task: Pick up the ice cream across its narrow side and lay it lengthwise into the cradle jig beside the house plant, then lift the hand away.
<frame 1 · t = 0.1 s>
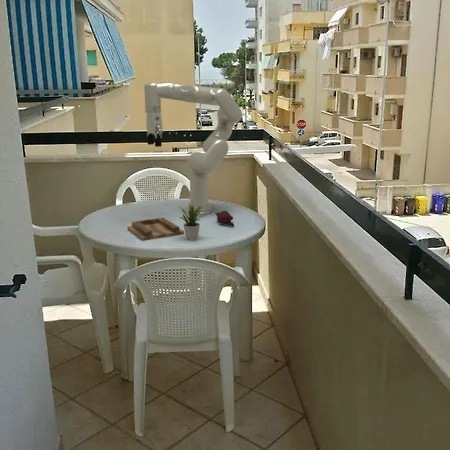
hand: (154, 145, 249), 37 cm above the table, tool pointing down, fingers open, 9 cm apart
icecream: (224, 224, 247), on the table
house plant: (194, 238, 225), on the table
cradle: (155, 231, 235), on the table
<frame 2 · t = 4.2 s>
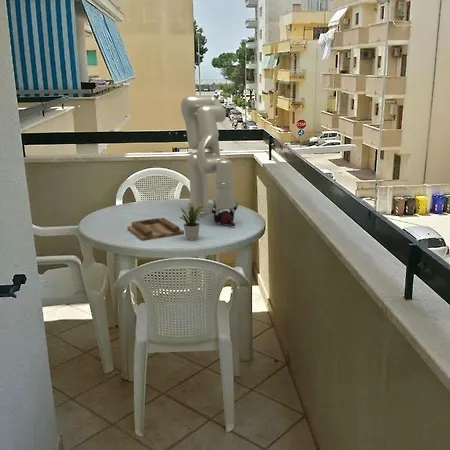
hand: (224, 221, 247), 1 cm above the table, tool pointing down, fingers closed on icecream, 7 cm apart
icecream: (224, 224, 247), on the table, touching gripper
everything else where it was.
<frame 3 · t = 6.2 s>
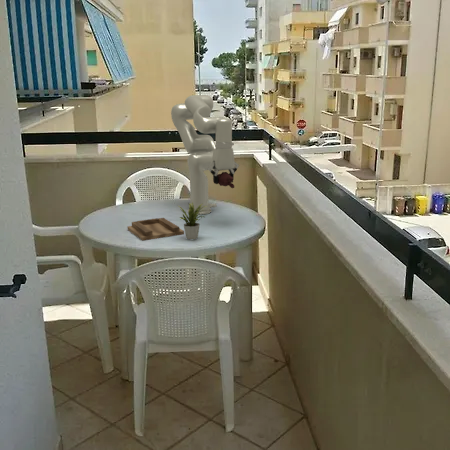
hand: (223, 182, 242), 20 cm above the table, tool pointing down, fingers closed on icecream, 7 cm apart
icecream: (224, 186, 242), point 19 cm above the table, touching gripper
everything else where it was.
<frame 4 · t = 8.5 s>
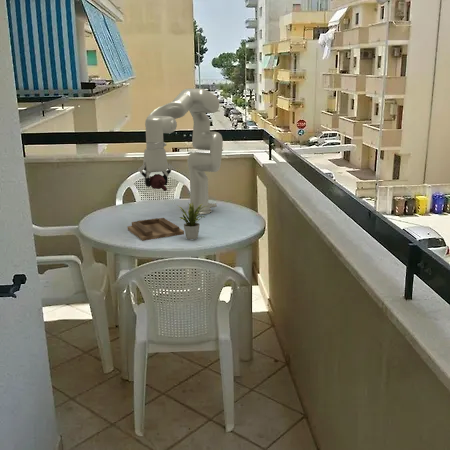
hand: (156, 185, 228), 22 cm above the table, tool pointing down, fingers closed on icecream, 7 cm apart
icecream: (157, 189, 228), point 20 cm above the table, touching gripper
everything else where it was.
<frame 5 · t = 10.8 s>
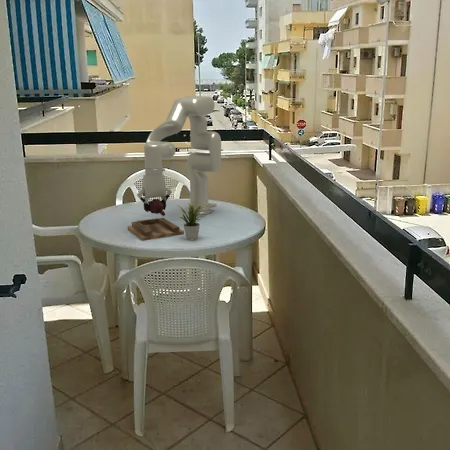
hand: (155, 210, 231), 11 cm above the table, tool pointing down, fingers closed on icecream, 7 cm apart
icecream: (156, 213, 231), point 9 cm above the table, touching gripper
everything else where it was.
when the fingers open (4 cm above the table, at t = 12.7 s): icecream drops 1 cm, resting on cradle.
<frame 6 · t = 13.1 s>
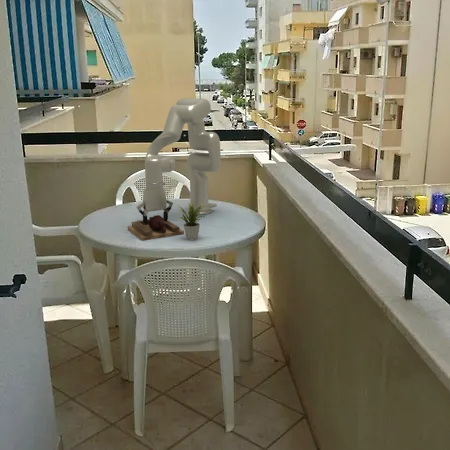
hand: (155, 222, 233), 5 cm above the table, tool pointing down, fingers open, 9 cm apart
icecream: (156, 229, 233), point 1 cm above the table, touching cradle
everything else where it was.
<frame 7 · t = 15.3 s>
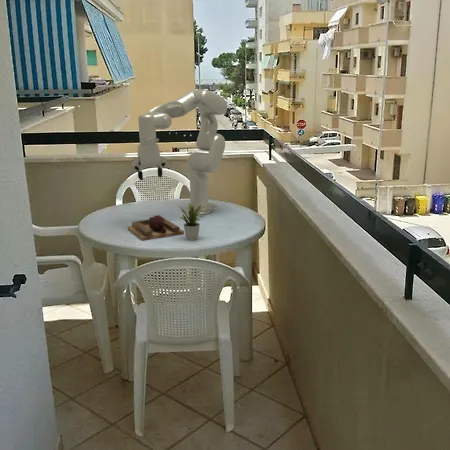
hand: (150, 178, 239), 23 cm above the table, tool pointing down, fingers open, 9 cm apart
nothing on the table moved.
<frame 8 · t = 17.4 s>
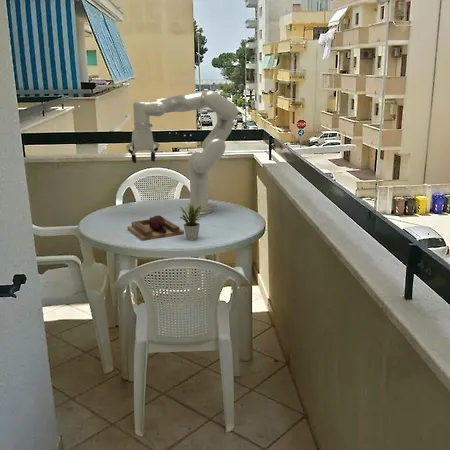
hand: (143, 161, 253), 28 cm above the table, tool pointing down, fingers open, 9 cm apart
nothing on the table moved.
at the end: icecream inside the target area on the cradle (1.2 cm from its centre), point 1.3 cm above the cradle's base; the gripper is holding nothing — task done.
